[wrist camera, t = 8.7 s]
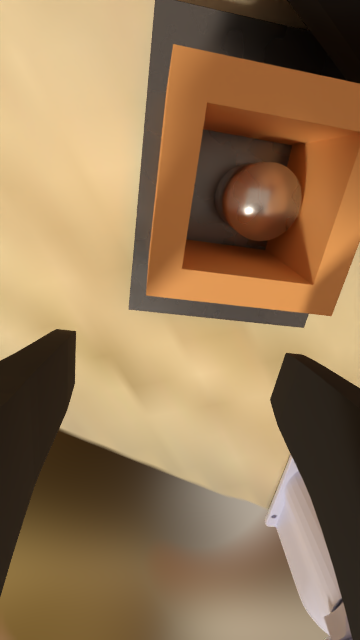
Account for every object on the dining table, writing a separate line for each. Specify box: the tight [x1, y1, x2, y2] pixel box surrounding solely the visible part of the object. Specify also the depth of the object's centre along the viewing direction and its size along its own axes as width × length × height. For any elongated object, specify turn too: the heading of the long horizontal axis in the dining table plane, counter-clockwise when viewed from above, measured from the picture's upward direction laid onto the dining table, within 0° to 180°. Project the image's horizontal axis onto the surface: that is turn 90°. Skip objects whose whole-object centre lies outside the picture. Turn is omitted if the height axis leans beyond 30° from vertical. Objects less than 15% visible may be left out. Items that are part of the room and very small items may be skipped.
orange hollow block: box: [146, 44, 360, 316], centre depth 14 cm, size 8×8×6 cm
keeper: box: [129, 0, 347, 328], centre depth 16 cm, size 14×11×4 cm
